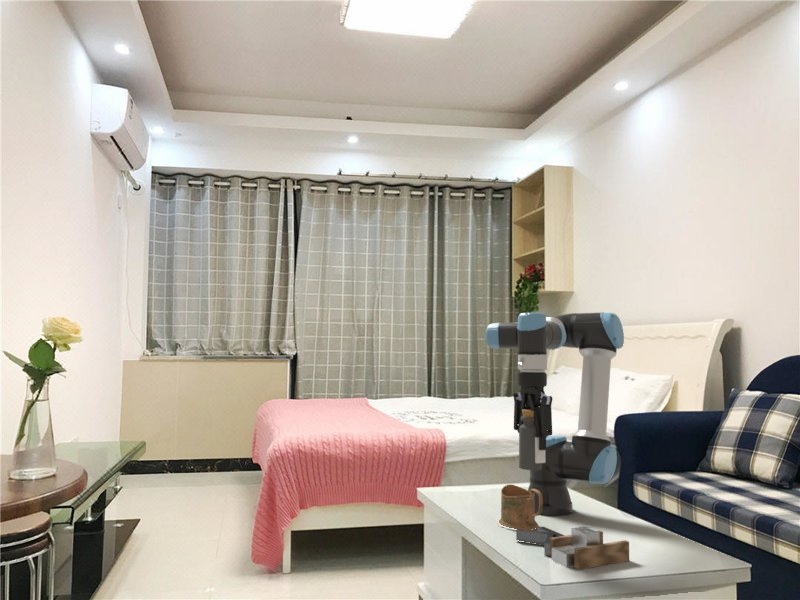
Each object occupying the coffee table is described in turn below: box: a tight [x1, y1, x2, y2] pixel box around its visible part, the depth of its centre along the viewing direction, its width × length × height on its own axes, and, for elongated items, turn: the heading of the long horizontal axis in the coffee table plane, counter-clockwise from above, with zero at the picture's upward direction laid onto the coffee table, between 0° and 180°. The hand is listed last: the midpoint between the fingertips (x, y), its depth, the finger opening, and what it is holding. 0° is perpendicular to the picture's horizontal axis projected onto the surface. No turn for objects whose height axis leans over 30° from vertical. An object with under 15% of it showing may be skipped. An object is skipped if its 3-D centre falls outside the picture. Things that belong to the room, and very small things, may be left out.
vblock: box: [515, 526, 566, 557], centre depth 160 cm, size 9×14×3 cm, turn 25°
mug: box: [498, 484, 543, 531], centre depth 177 cm, size 12×18×12 cm, turn 22°
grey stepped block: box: [551, 526, 600, 568], centre depth 149 cm, size 10×6×7 cm, turn 114°
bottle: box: [518, 409, 542, 471], centre depth 161 cm, size 6×6×15 cm
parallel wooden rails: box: [549, 530, 630, 570], centre depth 151 cm, size 16×10×4 cm, turn 115°
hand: (532, 460), depth 160 cm, fingers closed on bottle, 6 cm apart
